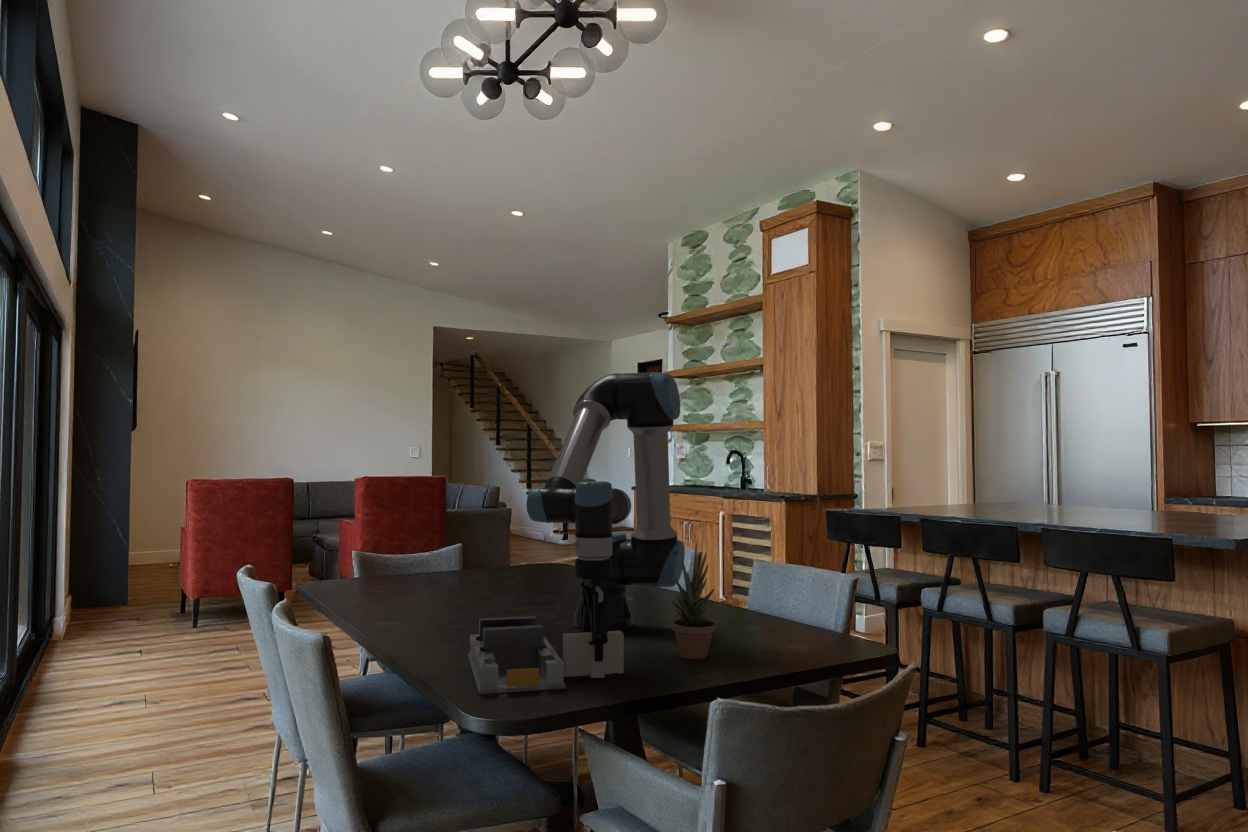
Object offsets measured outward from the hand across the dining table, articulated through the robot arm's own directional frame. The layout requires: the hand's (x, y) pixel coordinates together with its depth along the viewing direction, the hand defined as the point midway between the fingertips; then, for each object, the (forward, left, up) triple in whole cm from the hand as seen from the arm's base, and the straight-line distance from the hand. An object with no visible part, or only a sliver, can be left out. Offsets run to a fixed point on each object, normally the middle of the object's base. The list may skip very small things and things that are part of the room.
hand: (593, 671), depth 168 cm
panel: (0, 0, 0) cm, 0 cm away
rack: (+16, -5, 0) cm, 16 cm away
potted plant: (-24, -9, 0) cm, 26 cm away
